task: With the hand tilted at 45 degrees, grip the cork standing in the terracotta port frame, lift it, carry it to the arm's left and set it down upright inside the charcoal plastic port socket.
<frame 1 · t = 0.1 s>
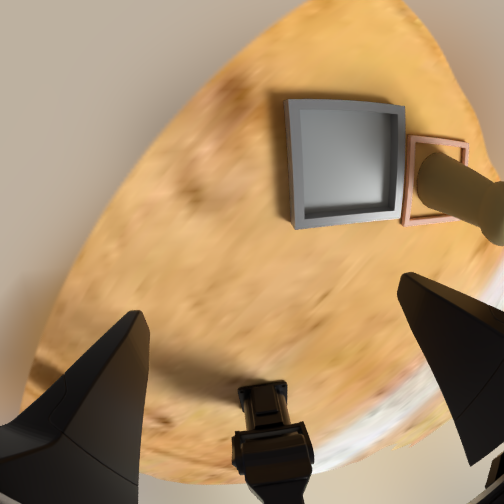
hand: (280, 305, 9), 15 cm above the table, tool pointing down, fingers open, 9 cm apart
cork: (436, 180, 23), resting in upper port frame
lower port socket: (346, 160, 21), on the table
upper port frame: (437, 181, 23), on the table
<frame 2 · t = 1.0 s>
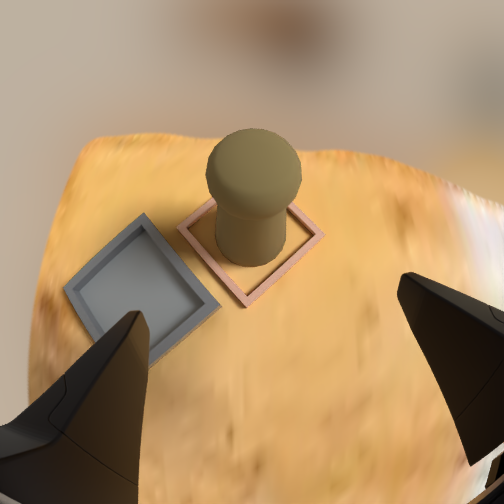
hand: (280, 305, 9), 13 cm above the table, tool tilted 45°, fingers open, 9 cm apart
cork: (250, 233, 24), resting in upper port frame
lower port socket: (137, 299, 22), on the table
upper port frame: (250, 232, 24), on the table
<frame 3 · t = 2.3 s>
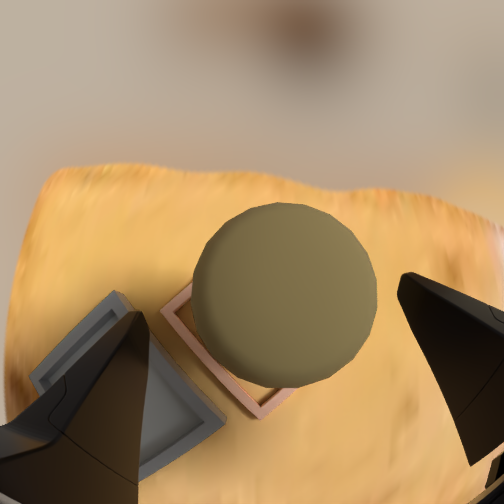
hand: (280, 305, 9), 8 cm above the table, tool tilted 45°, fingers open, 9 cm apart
cork: (264, 318, 17), resting in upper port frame
lower port socket: (117, 400, 14), on the table
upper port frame: (264, 318, 16), on the table
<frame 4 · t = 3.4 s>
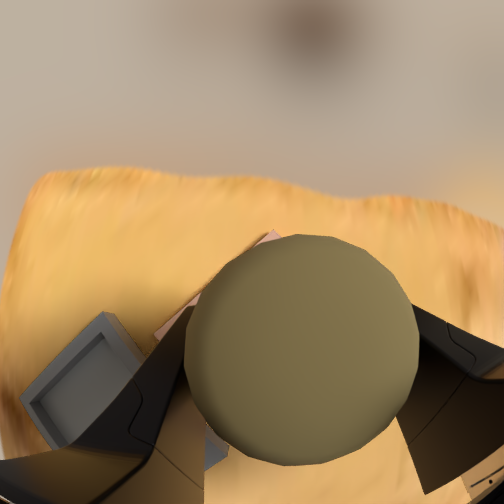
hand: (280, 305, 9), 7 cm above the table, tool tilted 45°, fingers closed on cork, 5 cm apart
cork: (269, 342, 15), resting in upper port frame, touching gripper
lower port socket: (112, 425, 13), on the table
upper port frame: (269, 342, 15), on the table
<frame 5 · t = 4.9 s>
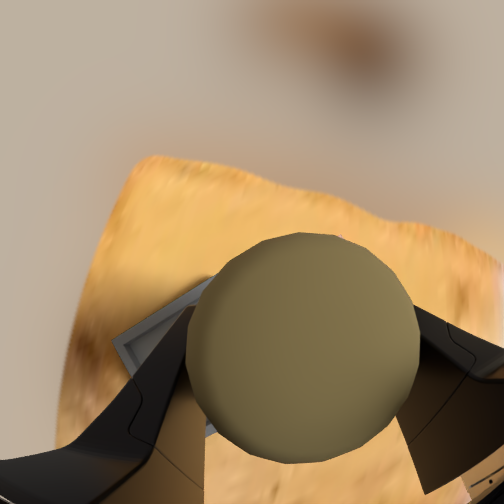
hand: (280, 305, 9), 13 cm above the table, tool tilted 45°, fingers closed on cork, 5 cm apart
cork: (270, 341, 15), point 6 cm above the table, touching gripper
lower port socket: (200, 364, 20), on the table
when the fingers open (7 cm above the table, at t = 6.7 s): cork stays where it is, resting on lower port socket.
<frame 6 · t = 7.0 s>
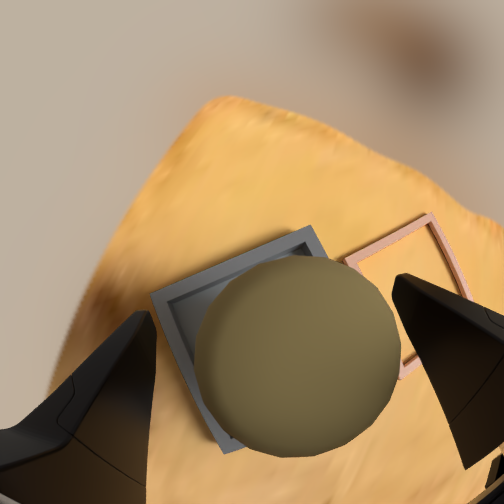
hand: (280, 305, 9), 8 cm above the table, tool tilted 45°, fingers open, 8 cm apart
cork: (268, 345, 16), resting on lower port socket
lower port socket: (267, 341, 16), on the table
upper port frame: (419, 290, 17), on the table
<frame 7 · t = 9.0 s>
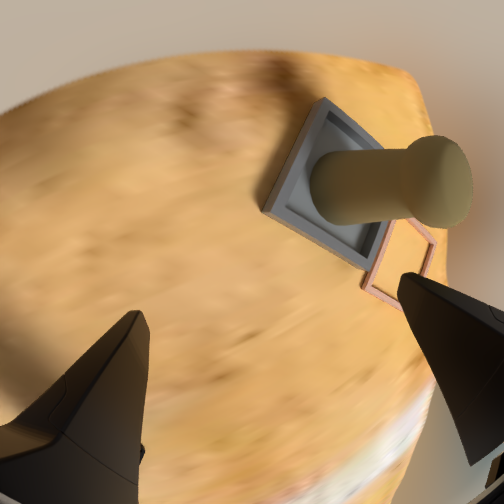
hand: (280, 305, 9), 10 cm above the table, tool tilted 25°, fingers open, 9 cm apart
cork: (339, 188, 21), resting on lower port socket
lower port socket: (340, 186, 21), on the table
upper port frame: (403, 262, 25), on the table
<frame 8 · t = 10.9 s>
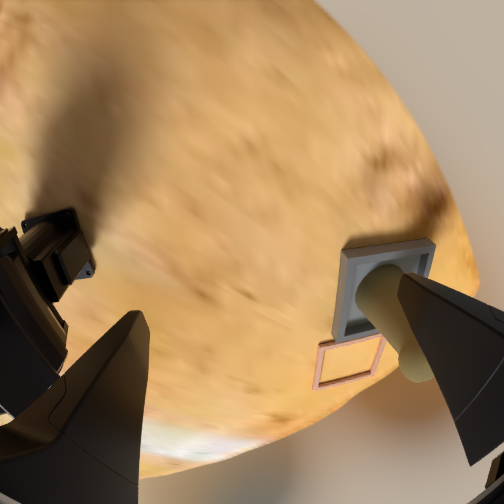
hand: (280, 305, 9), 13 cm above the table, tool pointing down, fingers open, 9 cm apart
cork: (379, 288, 26), resting on lower port socket
lower port socket: (381, 288, 26), on the table
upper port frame: (349, 361, 31), on the table
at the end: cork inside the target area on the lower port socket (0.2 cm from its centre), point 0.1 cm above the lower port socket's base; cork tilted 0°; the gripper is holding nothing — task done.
